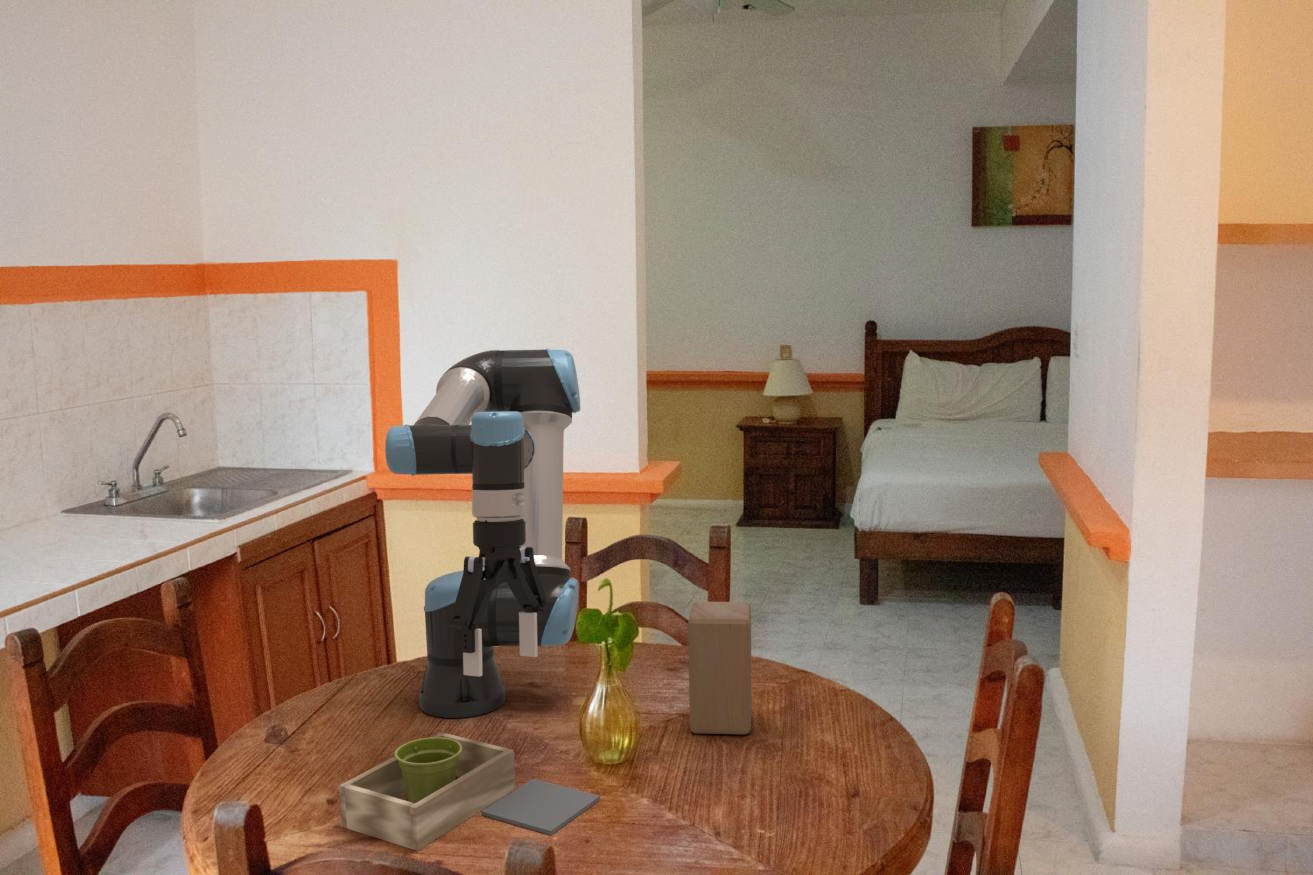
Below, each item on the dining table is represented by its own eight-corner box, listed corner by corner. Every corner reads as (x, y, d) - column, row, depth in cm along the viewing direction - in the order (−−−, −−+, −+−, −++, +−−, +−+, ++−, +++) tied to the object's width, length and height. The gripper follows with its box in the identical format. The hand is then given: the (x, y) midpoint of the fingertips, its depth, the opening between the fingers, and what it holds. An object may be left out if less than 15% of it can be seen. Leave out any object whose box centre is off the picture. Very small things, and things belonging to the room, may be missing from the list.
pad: (481, 815, 161) (481, 811, 161) (533, 782, 171) (533, 778, 171) (551, 835, 155) (551, 830, 155) (600, 799, 165) (600, 795, 165)
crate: (341, 826, 159) (339, 785, 158) (443, 769, 176) (441, 731, 176) (417, 850, 152) (415, 808, 151) (515, 788, 169) (514, 749, 169)
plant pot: (393, 799, 167) (390, 742, 165) (457, 787, 170) (455, 732, 169) (402, 827, 158) (399, 768, 157) (470, 815, 161) (468, 756, 160)
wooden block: (751, 713, 197) (751, 600, 194) (750, 736, 187) (749, 618, 184) (693, 712, 198) (691, 599, 195) (689, 735, 188) (687, 617, 185)
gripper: (466, 527, 152) (469, 686, 153) (567, 511, 174) (570, 650, 175) (422, 525, 156) (425, 681, 156) (526, 510, 178) (529, 646, 178)
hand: (501, 665), depth 165 cm, fingers open, 13 cm apart
